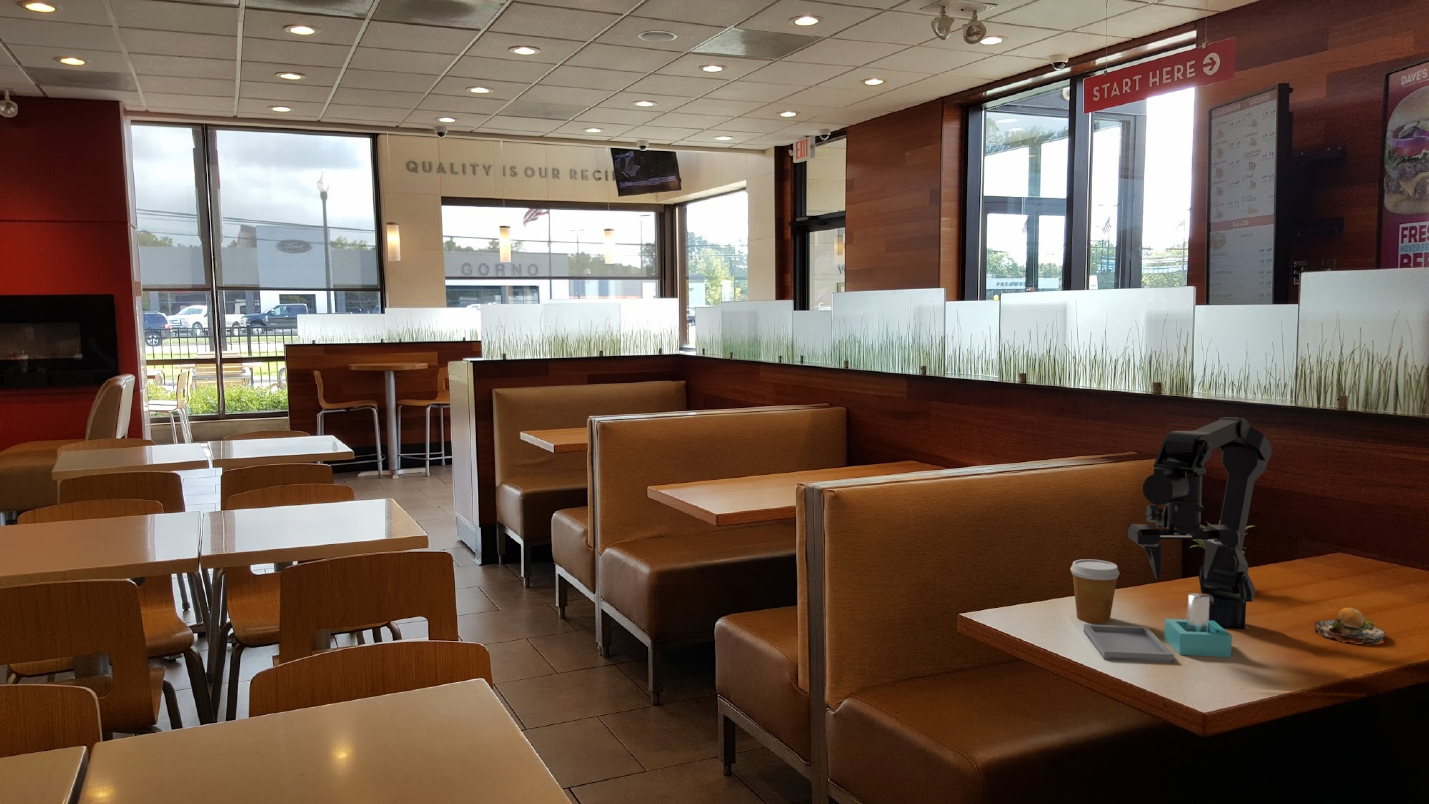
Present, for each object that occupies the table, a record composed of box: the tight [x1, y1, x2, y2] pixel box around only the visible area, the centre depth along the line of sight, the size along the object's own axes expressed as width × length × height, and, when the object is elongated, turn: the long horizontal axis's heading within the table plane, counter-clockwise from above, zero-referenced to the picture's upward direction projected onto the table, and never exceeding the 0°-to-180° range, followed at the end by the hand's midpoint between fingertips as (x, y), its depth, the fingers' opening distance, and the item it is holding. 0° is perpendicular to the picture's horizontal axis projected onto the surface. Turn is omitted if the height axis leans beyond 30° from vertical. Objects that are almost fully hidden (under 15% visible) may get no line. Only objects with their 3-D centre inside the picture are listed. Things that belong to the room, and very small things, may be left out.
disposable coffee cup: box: [1070, 558, 1120, 625], centre depth 201 cm, size 10×10×12 cm
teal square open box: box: [1163, 618, 1233, 658], centre depth 184 cm, size 9×9×4 cm
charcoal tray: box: [1083, 623, 1175, 664], centre depth 185 cm, size 12×16×2 cm
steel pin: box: [1186, 592, 1209, 632], centre depth 183 cm, size 4×4×10 cm
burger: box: [1314, 603, 1387, 645], centre depth 192 cm, size 12×12×8 cm
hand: (1181, 578), depth 185 cm, fingers open, 9 cm apart
